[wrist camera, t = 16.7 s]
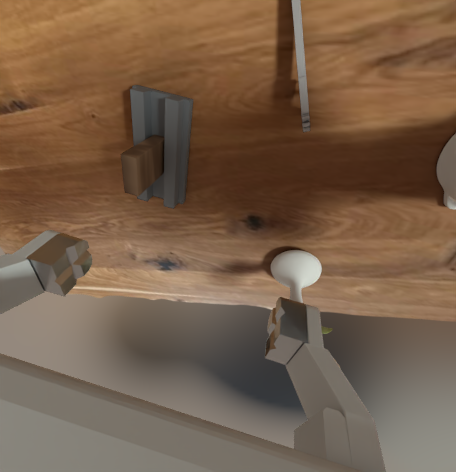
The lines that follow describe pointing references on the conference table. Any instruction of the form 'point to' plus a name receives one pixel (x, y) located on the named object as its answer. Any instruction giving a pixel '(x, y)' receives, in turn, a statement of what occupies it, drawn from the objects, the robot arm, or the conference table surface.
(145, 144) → the wooden picture frame
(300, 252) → the flower in vase
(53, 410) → the robot arm
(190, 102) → the picture ledge
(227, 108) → the conference table surface
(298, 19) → the caliper
